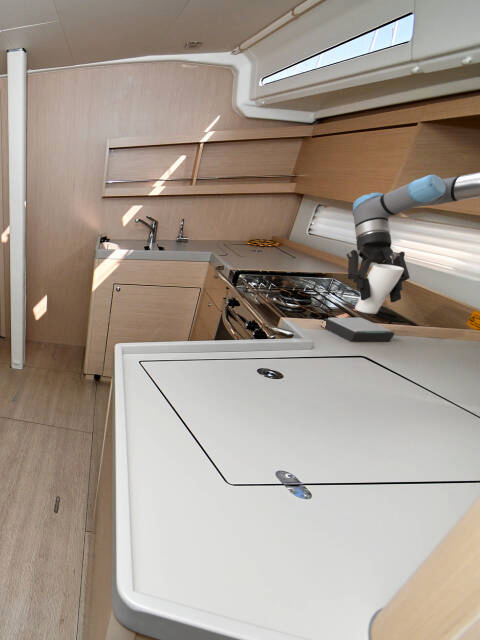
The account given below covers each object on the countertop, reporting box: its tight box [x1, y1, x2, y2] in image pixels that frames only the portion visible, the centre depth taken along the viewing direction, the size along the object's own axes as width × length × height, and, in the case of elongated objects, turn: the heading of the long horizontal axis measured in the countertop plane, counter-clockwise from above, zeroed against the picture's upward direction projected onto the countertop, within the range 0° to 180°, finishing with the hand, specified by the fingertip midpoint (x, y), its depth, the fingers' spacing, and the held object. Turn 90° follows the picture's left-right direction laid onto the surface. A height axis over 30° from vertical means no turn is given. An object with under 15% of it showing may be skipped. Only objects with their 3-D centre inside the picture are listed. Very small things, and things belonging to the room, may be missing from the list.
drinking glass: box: [354, 263, 404, 314], centre depth 113 cm, size 7×7×15 cm
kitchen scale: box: [323, 317, 395, 343], centre depth 120 cm, size 12×12×4 cm
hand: (380, 299), depth 111 cm, fingers closed on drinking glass, 7 cm apart
